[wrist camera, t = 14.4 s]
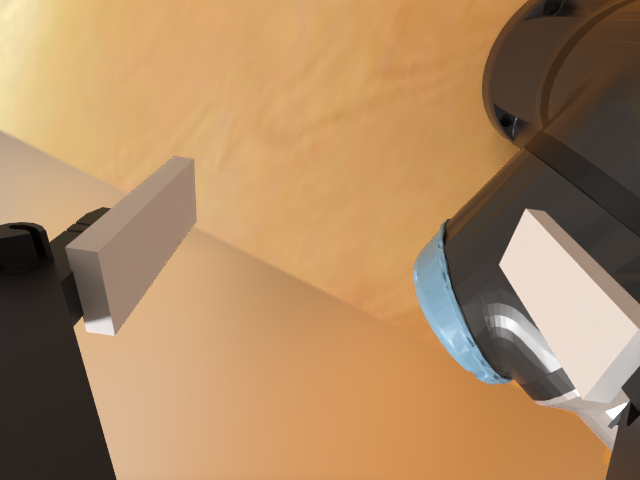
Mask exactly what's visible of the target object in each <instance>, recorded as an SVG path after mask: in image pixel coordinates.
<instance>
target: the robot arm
mask: <svg viewBox="0 0 640 480" xmlns="http://www.w3.org/2000/svg"><path fill="white" fill-rule="evenodd" d="M482 94H483V102H484V107H485V110H486V113H487V116H488V118H489V120H490V122H491V123H492V125H493V126H494V128H495V129H496V130H497V131H498V132H499V133H500V134H501V135H502V136H503V137H504V138H506V139H507V140H508V141H510V142H511V143H512V144H514V145H515V146H517V147H519V148H521V149H520V150H519V151H518V152H517V153H516V154H515V155H514V156H513V157H512V158H511V159H510V160H509V162H508V163H507V164H506V165H505V166H504V167H503V168H502V169H501V170H500V171H499V172H498V173H497V174H496V175H495V176H494V177H493V178H492V179H491V180H490V181H489V182H488V183H487V184H486V185H485V186H484V187H483V188H482V189H481V190H480V191H479V192H478V193H477V194H475V195H474V196H473V197H472V198H471V199H470V200H469V201H468V202H467V203H466V204H465V205H464V206H463V207H462V208H461V209H460V210H459V211H458V212H457V213H456V214H455V215H454V216H453V217H452V218H451V219H447V220H446V221H445V222H443V224H442V225H441V227H440V229H439V232H438V233H437V234H436V235H435V236H434V237H433V238H432V240H431V241H430V242H429V243H428V244H427V245H426V246H425V247H424V248H423V249H422V251H421V252H420V253H419V255H418V256H417V258H416V261H415V264H414V269H413V275H414V276H413V279H414V283H415V292H416V295H417V298H418V301H419V304H420V306H421V309H422V311H423V313H424V315H425V317H426V319H427V321H428V323H429V325H430V326H431V328H432V330H433V331H434V333H435V334H436V336H437V337H438V339H439V340H440V342H441V343H442V344H443V346H444V347H445V348H446V350H447V351H448V352H449V353H450V354H451V356H452V357H453V358H454V359H455V360H456V361H457V362H458V363H459V364H460V365H461V366H462V367H463V368H465V369H466V370H467V371H472V372H473V373H474V375H475V377H476V378H478V379H479V380H481V381H483V382H485V383H488V384H500V383H503V384H504V383H509V382H510V381H512V380H513V379H514V380H515V381H516V382H517V383H518V384H519V385H520V386H521V387H522V388H523V389H524V390H525V392H526V393H527V394H528V395H529V396H530V397H531V398H532V399H533V400H534V401H535V402H536V403H537V404H538V405H542V406H548V407H554V408H560V409H566V410H569V411H571V412H574V413H576V414H577V415H578V416H579V417H580V418H581V419H582V420H583V421H584V423H585V424H586V425H587V426H588V427H589V428H590V429H591V430H592V431H593V432H594V433H595V434H596V435H597V436H598V437H599V439H600V440H601V441H602V442H603V443H604V444H605V445H606V446H607V447H608V448H609V449H610V450H611V451H612V455H611V459H610V463H609V468H608V472H607V476H606V480H640V0H529V1H528V2H527V3H525V4H524V5H523V6H522V7H521V8H520V9H519V10H518V11H517V12H516V13H515V14H514V15H513V16H512V17H511V19H510V20H509V21H508V22H507V24H506V25H505V26H504V28H503V29H502V31H501V32H500V34H499V35H498V37H497V39H496V41H495V43H494V44H493V46H492V49H491V51H490V53H489V56H488V59H487V62H486V65H485V70H484V75H483V84H482ZM195 222H196V196H195V171H194V159H192V158H185V157H179V156H173V157H172V158H171V159H170V160H169V161H167V162H166V163H165V164H164V165H163V166H161V167H160V168H159V169H158V170H157V171H156V172H154V173H153V174H152V175H151V176H150V177H148V178H147V179H146V180H145V181H144V182H142V183H141V184H140V185H139V186H138V187H136V188H135V189H134V190H133V191H132V192H130V193H129V194H128V195H127V196H126V197H124V198H123V199H122V200H121V201H120V202H119V203H117V204H116V205H115V206H114V207H112V208H104V207H103V208H100V209H97V210H95V211H92V212H90V213H87V214H86V215H84V216H83V217H82V218H80V219H79V220H78V221H77V222H76V224H73V225H71V226H70V227H69V228H68V229H67V231H64V232H62V233H61V234H60V235H59V236H57V237H56V238H55V239H53V240H52V241H51V242H50V243H49V240H48V236H47V233H46V230H45V229H44V228H43V227H42V226H40V225H38V224H34V223H26V222H18V223H8V224H3V225H0V480H116V476H115V472H114V469H113V465H112V462H111V458H110V455H109V451H108V448H107V444H106V441H105V437H104V434H103V430H102V427H101V423H100V420H99V416H98V413H97V409H96V406H95V402H94V398H93V395H92V391H91V388H90V385H89V381H88V378H87V374H86V370H85V367H84V364H83V360H82V357H81V353H80V349H79V346H78V342H77V339H76V335H75V332H74V328H73V327H74V325H75V324H76V323H77V322H78V321H79V320H80V318H81V317H82V316H83V319H84V323H85V327H86V331H87V332H92V333H99V334H107V335H114V336H115V335H116V334H117V332H118V330H119V329H120V328H121V326H122V325H123V324H124V322H125V321H126V319H127V318H128V317H129V315H130V314H131V312H132V311H133V310H134V308H135V307H136V305H137V304H138V303H139V301H140V300H141V298H142V297H143V296H144V294H145V293H146V291H147V290H148V288H149V287H150V286H151V284H152V283H153V281H154V280H155V279H156V277H157V276H158V274H159V273H160V272H161V270H162V269H163V267H164V266H165V265H166V263H167V262H168V260H169V259H170V257H171V256H172V255H173V253H174V252H175V251H176V249H177V248H178V246H179V245H180V243H181V242H182V241H183V239H184V238H185V236H186V235H187V234H188V232H189V231H190V229H191V228H192V227H193V225H194V224H195Z"/></svg>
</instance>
